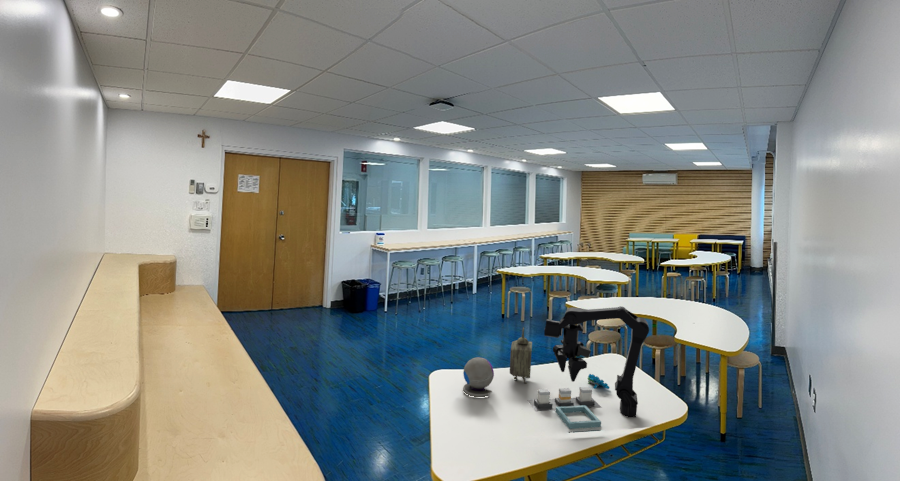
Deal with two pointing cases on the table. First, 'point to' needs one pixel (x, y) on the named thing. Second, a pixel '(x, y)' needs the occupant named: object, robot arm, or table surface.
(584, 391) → the white fuse right
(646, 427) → the table surface
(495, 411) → the table surface
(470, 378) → the webcam
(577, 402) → the fuse holder
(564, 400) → the marked fuse
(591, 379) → the gear
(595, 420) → the tray
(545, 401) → the block
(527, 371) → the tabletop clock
